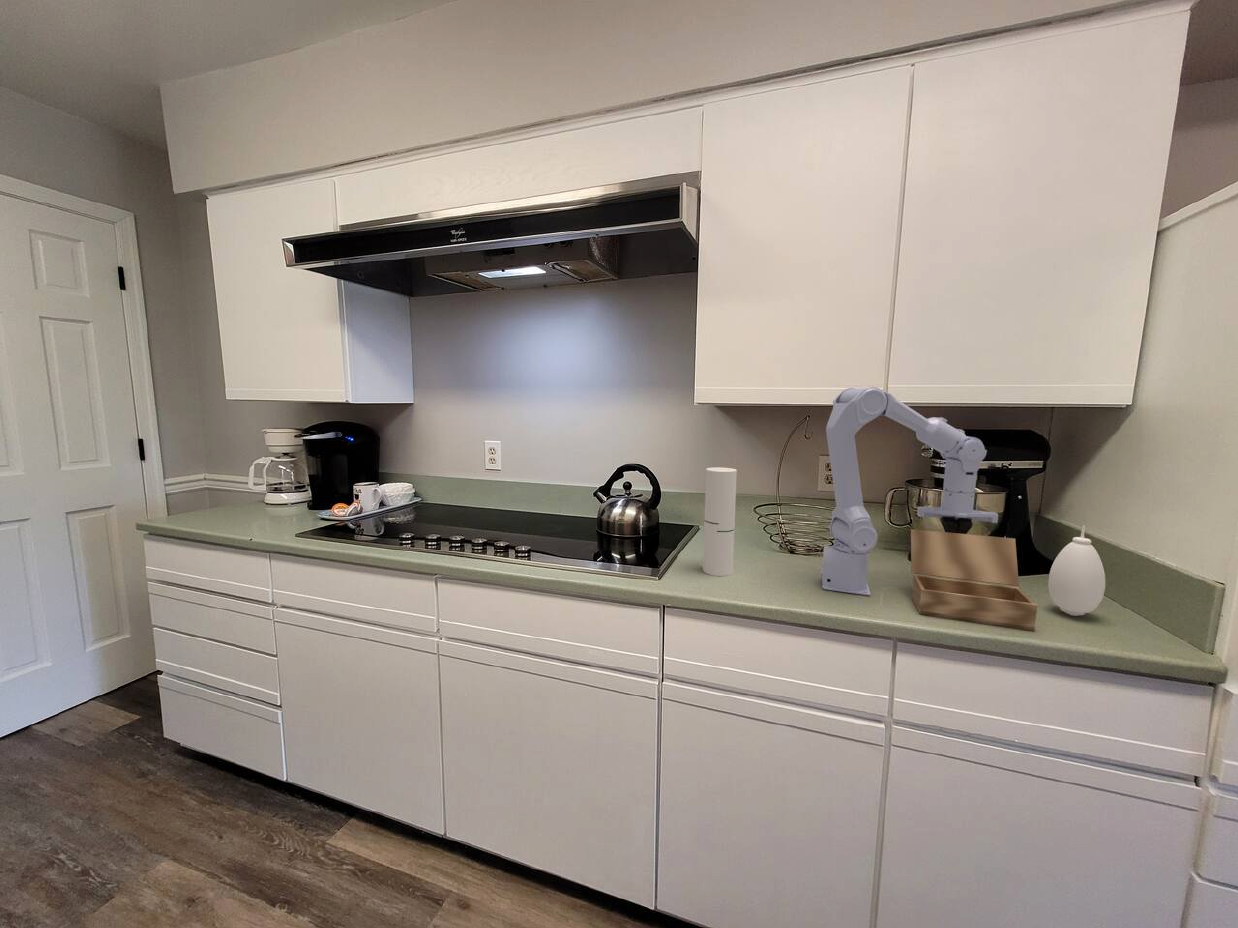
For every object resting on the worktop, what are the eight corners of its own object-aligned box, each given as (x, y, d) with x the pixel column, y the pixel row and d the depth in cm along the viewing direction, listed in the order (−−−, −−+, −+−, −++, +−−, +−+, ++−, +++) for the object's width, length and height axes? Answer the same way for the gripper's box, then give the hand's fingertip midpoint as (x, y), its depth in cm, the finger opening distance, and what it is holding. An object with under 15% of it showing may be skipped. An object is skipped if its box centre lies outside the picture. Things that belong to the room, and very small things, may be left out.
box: (919, 614, 94) (921, 590, 94) (911, 597, 103) (913, 574, 102) (1034, 631, 88) (1037, 605, 87) (1015, 611, 96) (1018, 587, 95)
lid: (911, 528, 105) (910, 529, 106) (911, 572, 102) (911, 573, 103) (1015, 538, 99) (1013, 539, 99) (1018, 585, 96) (1017, 586, 96)
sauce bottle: (1068, 604, 100) (1079, 519, 97) (1111, 621, 92) (1124, 529, 90) (1034, 606, 99) (1045, 520, 96) (1075, 624, 91) (1088, 531, 88)
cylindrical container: (708, 564, 123) (711, 466, 119) (736, 569, 119) (740, 468, 116) (698, 572, 117) (701, 470, 113) (727, 578, 113) (731, 472, 110)
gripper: (924, 491, 105) (918, 552, 107) (1005, 496, 99) (998, 560, 101) (917, 486, 111) (912, 543, 113) (994, 490, 106) (987, 550, 108)
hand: (952, 550), depth 108 cm, fingers closed
